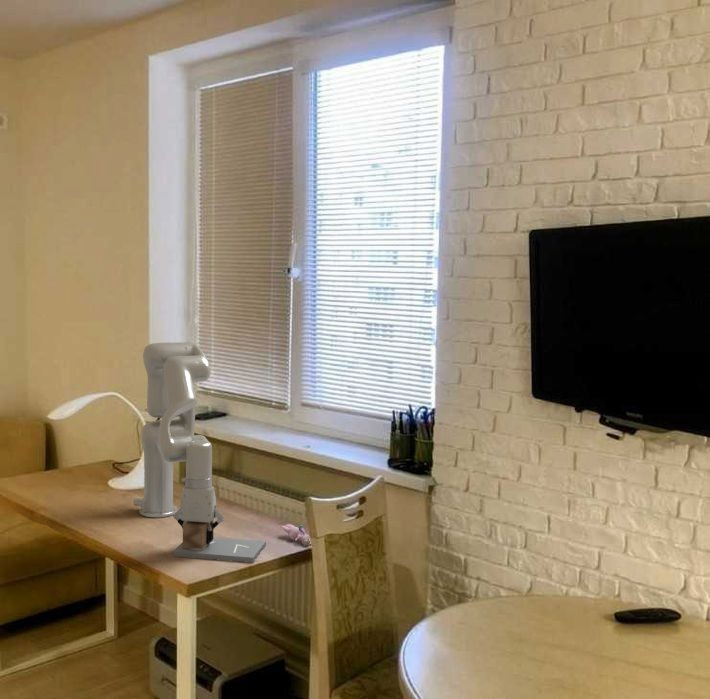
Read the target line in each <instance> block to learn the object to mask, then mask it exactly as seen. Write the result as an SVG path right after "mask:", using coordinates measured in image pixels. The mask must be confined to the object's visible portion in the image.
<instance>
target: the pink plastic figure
mask: <svg viewBox="0 0 710 699" xmlns="http://www.w3.org/2000/svg"><path fill="white" fill-rule="evenodd" d="M280 528H282V529H283V530H284V532H286V533H287V535H288V538H289V539H291V540H293V541H294V540H295V542H297V541H299V542H301V544H302V545H303V546H304V547H308V548H310V546H311V545H310V541H309V534H307V533H306V531H305V528H304V526H303V525H302V524H300V525H299V526H296V525H294V524H290V523H287V524H285V525H280Z"/></svg>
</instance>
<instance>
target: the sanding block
mask: <svg viewBox="0 0 710 699" xmlns="http://www.w3.org/2000/svg"><path fill="white" fill-rule="evenodd" d="M214 519H215V518H213V522H215V520H214ZM214 530H215V528H214V529H213V531H214ZM207 531H208V528H207V523H200V522H187V523H185V524H184V525H183V529H182V542H183V549H188V550H200V551H203V550H204V549H205V548H206V546H207V545H208V544H207V543H206V540H207Z"/></svg>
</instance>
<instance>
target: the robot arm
mask: <svg viewBox="0 0 710 699" xmlns="http://www.w3.org/2000/svg"><path fill="white" fill-rule="evenodd" d="M142 353H143V354H142V360H143V365H144V367H145V368H144V369H145V371H146V375H147V393H146V394H147V397H146V400H147V401H146V407H147V408H146V409H147V413H148V415H149V416H150V417H153V418H154V419H156V418H157V419H158V420H152V421H148V422H146V423H145V424H144V425H143V426H142V428H141V433H140V435H141V441H142V442H141V443H142V448H143V449H142V450H143V457H144V458H143V462H144V463H143V464H144V465H143V466H144V467H143V468H144V469H143V470H144V471H143V472H144V473H143V474H144V476H143V480H144V484H143V485H144V486H143V488H144V489H143V490H144V492H143V493H144V495H143V496H144V497H143V498H133V505H134V506H136V507H139V506H140V508H139V514H140V515H141V516H143V517H147V518H166V517H170V516H172V518H174V520H176V522H177V523H178V525H180V527H181V528H182V530H183V525H184V524H185V523H187V522H200V523H207V528H208V531H207V540H206V543H207V544H210V542H211V541H212V540H213V537H214V530H215V528H216V527H217V526H218V525H219V524H221V523H222V522H223V521H224V520H225V517H224V516H223V515H222V514H221V512H220V511H219V510H218V509H217V498H216V491H215V487H214V486H213V484H212V483H213V481H212V480H213V479H212V478H213V476H212V475H213V472H212V471H213V446H212V443H211V442H210V441H209V440H208V439H207V437H205V436H204V435H202V434H195V426H196V425H195V424H196V423H195V421H196V405H197V402H198V400H197V395H196V389H195V384H194V383H200V382H202V383H204V382H206V381H208V380H209V378H210V376H211V366H210V363H209V360H208V358H207V356H206V355H205V353H204V352H203V351H202V349H201V348H200V347H199V346H198V345H197V344H196V343H195V342H188V341H187V342H155V343H149V344H148V345H146V346H145V347H144V349H143V352H142ZM176 417H178V418H177V419H175V418H176ZM159 418H161V419H160V420H159ZM178 462H181V463H182V462H185V477H181V480H180V482H181V483H184V484H185V486H183V487H182V490H181V495H180V504H179V509H178V506H176V505H175V504H174V463H178ZM213 518H214V519H216V521H215V520H214V522H213ZM213 529H214V530H213Z"/></svg>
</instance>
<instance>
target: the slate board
mask: <svg viewBox="0 0 710 699" xmlns="http://www.w3.org/2000/svg"><path fill="white" fill-rule="evenodd" d="M265 546H267V541H266V540H253V539H239V538H229V537H216V536H213V540H212V541H211V542H210V544H208V545H207V546H206V548H205V549H204V550H203V551H200V550H188V549H183V541H182V542H181V543H180V544H179V545H178V546H176V548H174V550H173V551H172V557H179V558H189V559H200V560H201V559H204V560H213V559H219V560H218V561H225V560H227V562H229V561H228V560H232V561H231V562H238V561H247V562H246V563H250V562H253V563H254V562H255V561H256V560H255V559H258V557H259V556H258V555H260V554H261V553H262V552H263V551H262V550H264V549H265V548H266V547H265ZM264 547H265V548H264ZM261 551H262V552H261ZM260 552H261V553H260ZM257 556H258V557H257Z"/></svg>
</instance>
